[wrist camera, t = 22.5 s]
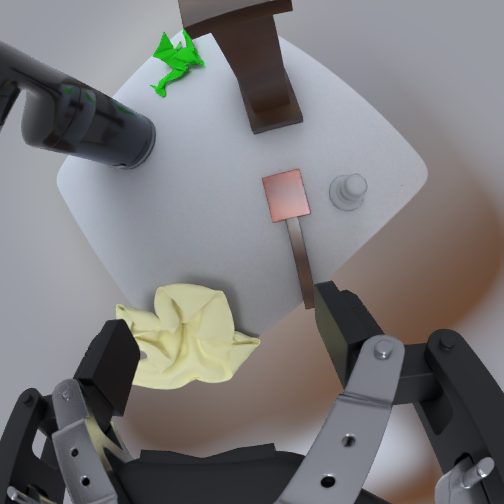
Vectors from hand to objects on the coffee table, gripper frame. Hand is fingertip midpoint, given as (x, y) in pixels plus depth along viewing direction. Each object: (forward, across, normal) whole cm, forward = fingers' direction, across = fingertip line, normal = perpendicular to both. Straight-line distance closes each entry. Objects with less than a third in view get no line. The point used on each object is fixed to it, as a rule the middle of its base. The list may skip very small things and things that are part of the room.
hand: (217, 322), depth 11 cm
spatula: (+24, -8, +7) cm, 26 cm away
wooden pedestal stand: (+31, -9, -12) cm, 34 cm away
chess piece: (+24, -16, +2) cm, 29 cm away
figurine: (+34, 0, -23) cm, 41 cm away
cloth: (+18, +11, +17) cm, 27 cm away
